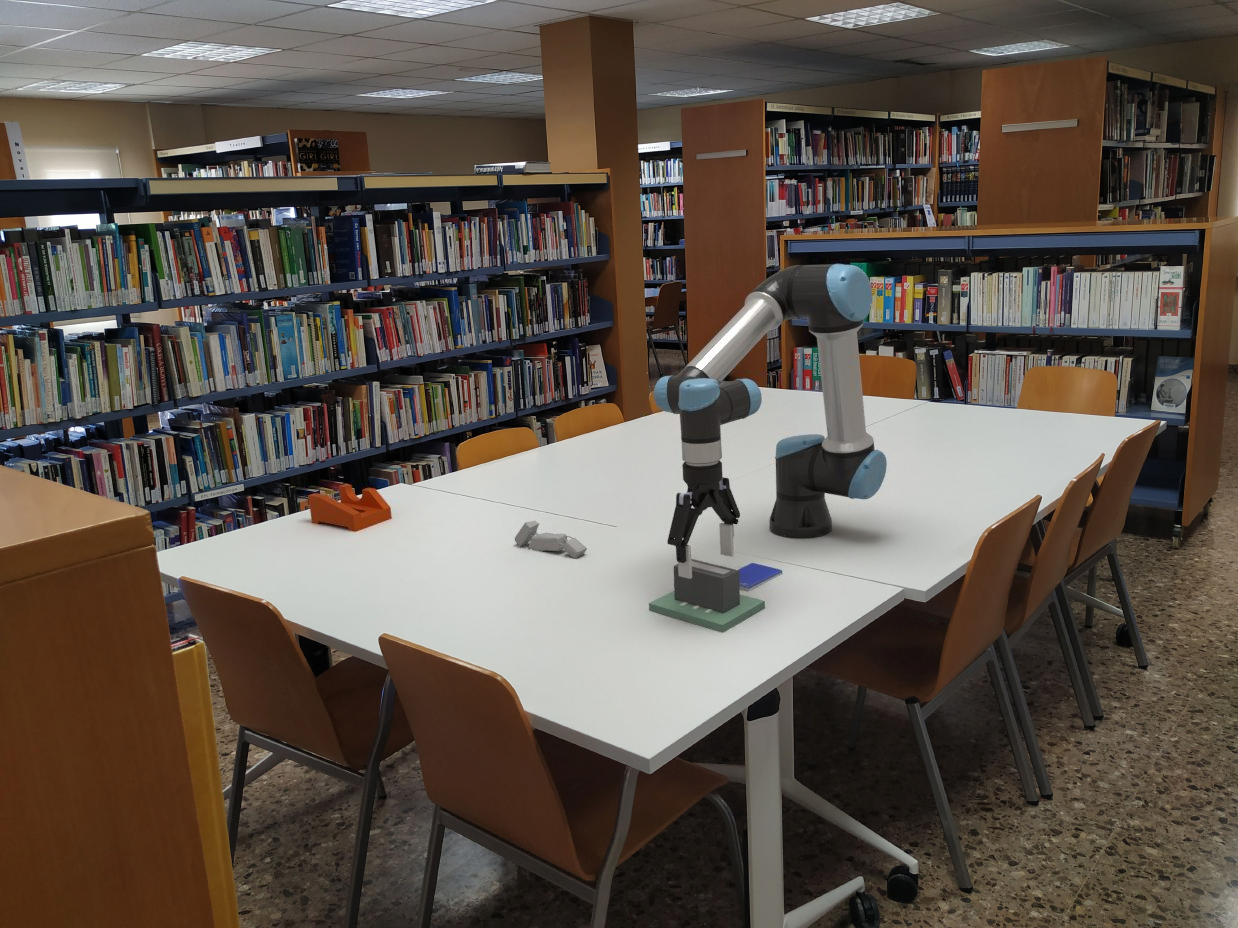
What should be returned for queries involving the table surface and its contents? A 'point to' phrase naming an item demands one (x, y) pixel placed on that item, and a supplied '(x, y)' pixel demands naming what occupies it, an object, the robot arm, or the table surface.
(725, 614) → the header board
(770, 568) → the hard drive
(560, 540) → the grey jointed block chain
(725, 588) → the socket block
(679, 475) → the table surface
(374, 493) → the orange cradle stand
